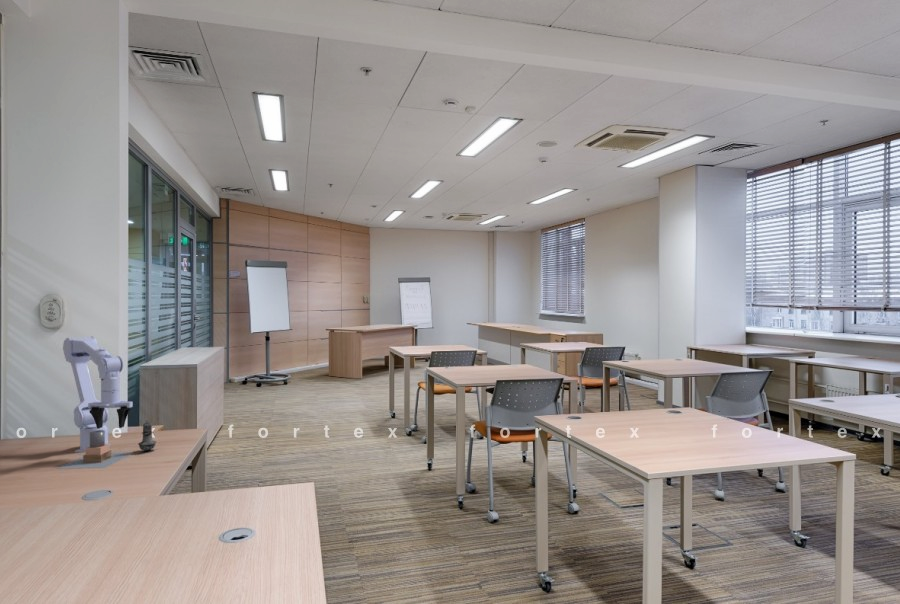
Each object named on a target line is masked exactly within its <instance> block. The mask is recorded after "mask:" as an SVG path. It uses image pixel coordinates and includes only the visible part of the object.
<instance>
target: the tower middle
mask: <svg viewBox="0 0 900 604" xmlns="http://www.w3.org/2000/svg"><path fill="white" fill-rule="evenodd" d="M109 444H110V443H108V444H105V445H104V446H102V447H96V448H90V446H89V447H87V448H86V452H85V455H101V454H103V453H106V452H108V451H109V450H110V445H109Z"/></svg>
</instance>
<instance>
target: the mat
mask: <svg viewBox="0 0 900 604" xmlns="http://www.w3.org/2000/svg"><path fill="white" fill-rule="evenodd" d="M133 454H135V452H133V451H130V452H129V451H128V452H126V451H124V452H123V451H122V452H111V458H109V459H107V460H105V461H103V462H99V463H83V456H80V457H79V458H76V459H74V460H72V461H70V462H67V463H66V464H63V465H61V466H59V467H57V468H55V469H56V470H57V469H58V470H61V469H62V470H63V469H65V470H66V469H67V470H69V469H102V468H103V469H106V468H108V467H111V466H112V465H113V464H115V463H117V462H120V461H121V460H123V459H125V458H127V457H128V456H131V455H133Z"/></svg>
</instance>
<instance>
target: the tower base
mask: <svg viewBox="0 0 900 604" xmlns="http://www.w3.org/2000/svg"><path fill="white" fill-rule="evenodd" d="M111 453H112V450H110V449H109V451H108V452H106V453H103V454H101V455H86V454H83V455H82V457H83V463H99V462H103V461H105V460H107V459H109V458H111Z"/></svg>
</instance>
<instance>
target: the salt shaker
mask: <svg viewBox="0 0 900 604" xmlns="http://www.w3.org/2000/svg"><path fill="white" fill-rule="evenodd" d="M152 426H153V424H152V423H151V422H149V420H148V419H147V420H146V421H145V422H144V423H143V425H142V432H141V434H142V440H141V442H139V443H137V444H138V447H139V449H140V450H141V451H140V454H148V453H153V452H155V449H154V448H155V446H156V443H157V441H156V440H154V439H153V433H154V432H153V428H152Z"/></svg>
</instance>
